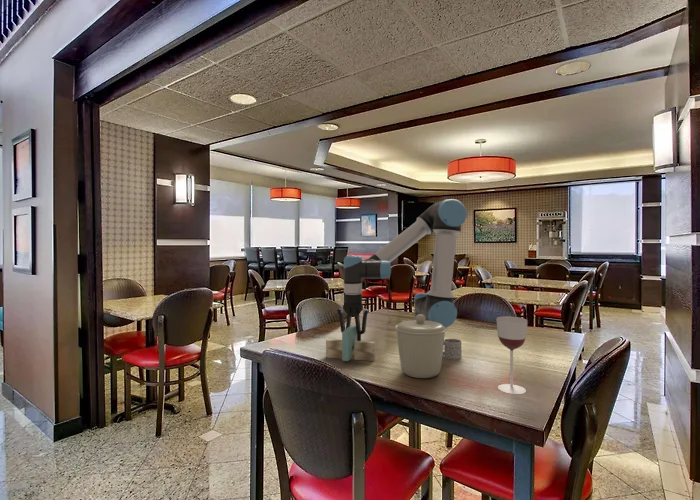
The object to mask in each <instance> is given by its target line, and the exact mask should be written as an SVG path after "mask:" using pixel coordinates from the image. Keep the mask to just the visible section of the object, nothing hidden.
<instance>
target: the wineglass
mask: <svg viewBox="0 0 700 500" xmlns="http://www.w3.org/2000/svg"><path fill="white" fill-rule="evenodd" d="M527 329H528V320H527V318H526V319H525V318H524V317H518V316H508V315H506V316H503V315H502V316H497V317H496V330H497V337H498V340H499V341H500V343H501V344H502V345H503V346H504V347H505V348H507V349H509V351H510V352H509V361H510V362H509V364H510V365H509V366H510V367H509V368H510V369H509V372H510V373H509V375H510V377H509V379H510V383H502V384H499V385H498V386H497V389H498V390H500V391H501V392H503V393H507V394H511V395H522V394H525V393H526V392H527V390H526V388H524V387H523V386H520V385H517V384H514V350H516V349H518V348H519V349H520V347H522V346H523V345H524V344H525V341H526V338H527V331H528V330H527Z"/></svg>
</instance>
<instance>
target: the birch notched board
mask: <svg viewBox="0 0 700 500" xmlns="http://www.w3.org/2000/svg"><path fill="white" fill-rule="evenodd" d="M325 353H326V355H325V357H326V358H331V359H342V339H335V338H326V340H325ZM350 360H357V361H358V360H359V361H366V362H367V361H370V362H375V361H376V341H365V340H361V341H355V342H354V348H352V358H351V359H350Z"/></svg>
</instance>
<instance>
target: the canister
mask: <svg viewBox="0 0 700 500" xmlns="http://www.w3.org/2000/svg"><path fill="white" fill-rule="evenodd" d="M415 319H416V320H415ZM425 319H426V318H425V316H424V315H422V314H418V315H416V317H415V316H414V319H413V320H411V319H408V320H403V321H401V322H399V323H398V324H396V325H394V329H395V331H396V336H397V337H396V338H397V345H398V355H399V362H400V367H401V370H402V372H403V373H404V374H405V375H406V376H408V377H411V378H415V379H429V378H430V379H431V378H434V377H437V376H438V375H439V373H440V372H441V368H442V363H443V356H444V355H443V352H444V340H445V335H446V334H445V333H446V332H447V330H448V329H447V328H448V327H445V326H443V325H442V324H440V323H438V322H434V321H428V320H425Z"/></svg>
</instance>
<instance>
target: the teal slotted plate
mask: <svg viewBox="0 0 700 500" xmlns="http://www.w3.org/2000/svg"><path fill="white" fill-rule="evenodd" d="M356 334H357V331H356V324H350V327H348V328H347V329H346V328H345V330H344V331H343V332H341V336H342V337H341V340H342V358H341V360H342V361H344V362H349V361H350V360H352V359H351V358H352V348H354V342H355V335H356Z"/></svg>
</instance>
